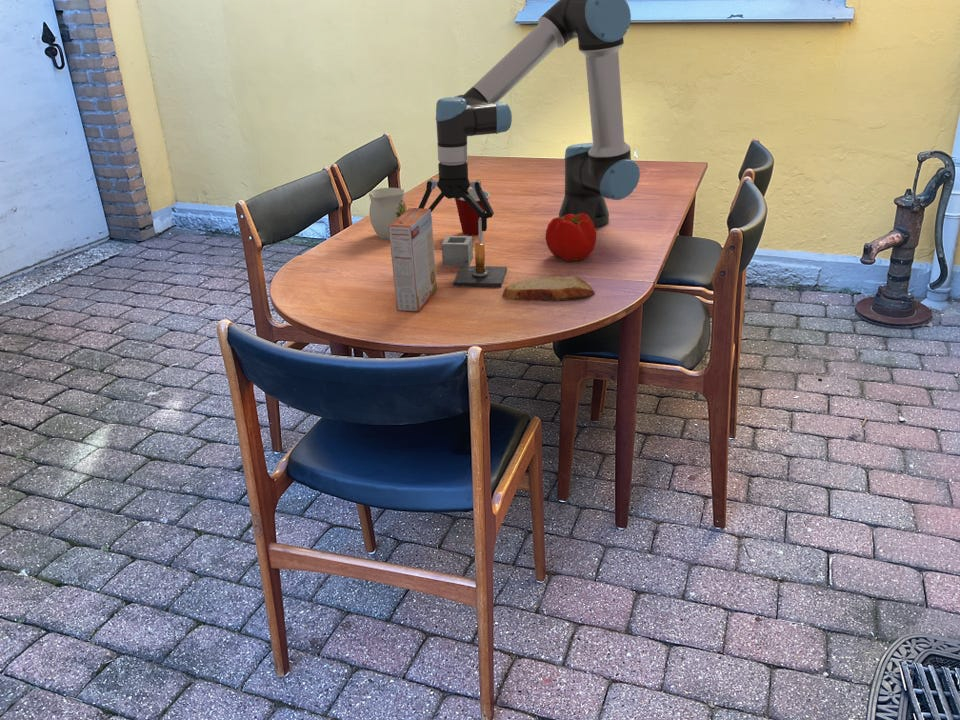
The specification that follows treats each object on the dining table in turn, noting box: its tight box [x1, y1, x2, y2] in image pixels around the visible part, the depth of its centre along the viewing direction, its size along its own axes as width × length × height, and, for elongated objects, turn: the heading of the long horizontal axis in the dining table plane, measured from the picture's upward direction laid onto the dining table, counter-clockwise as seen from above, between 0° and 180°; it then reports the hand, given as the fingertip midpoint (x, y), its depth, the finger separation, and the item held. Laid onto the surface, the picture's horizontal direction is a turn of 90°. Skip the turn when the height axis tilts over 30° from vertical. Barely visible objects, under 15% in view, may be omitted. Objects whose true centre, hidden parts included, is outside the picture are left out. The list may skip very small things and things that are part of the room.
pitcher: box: [368, 187, 408, 240], centre depth 237 cm, size 11×18×14 cm, turn 163°
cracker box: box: [388, 207, 438, 313], centre depth 189 cm, size 14×6×21 cm, turn 165°
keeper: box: [452, 242, 508, 288], centre depth 203 cm, size 12×12×9 cm
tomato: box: [545, 213, 597, 262], centre depth 215 cm, size 13×14×12 cm
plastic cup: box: [454, 188, 491, 237], centre depth 237 cm, size 11×11×12 cm
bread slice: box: [501, 275, 595, 302], centre depth 194 cm, size 18×18×4 cm
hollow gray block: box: [441, 235, 474, 267], centre depth 216 cm, size 7×7×6 cm
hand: (455, 242), depth 215 cm, fingers open, 13 cm apart
